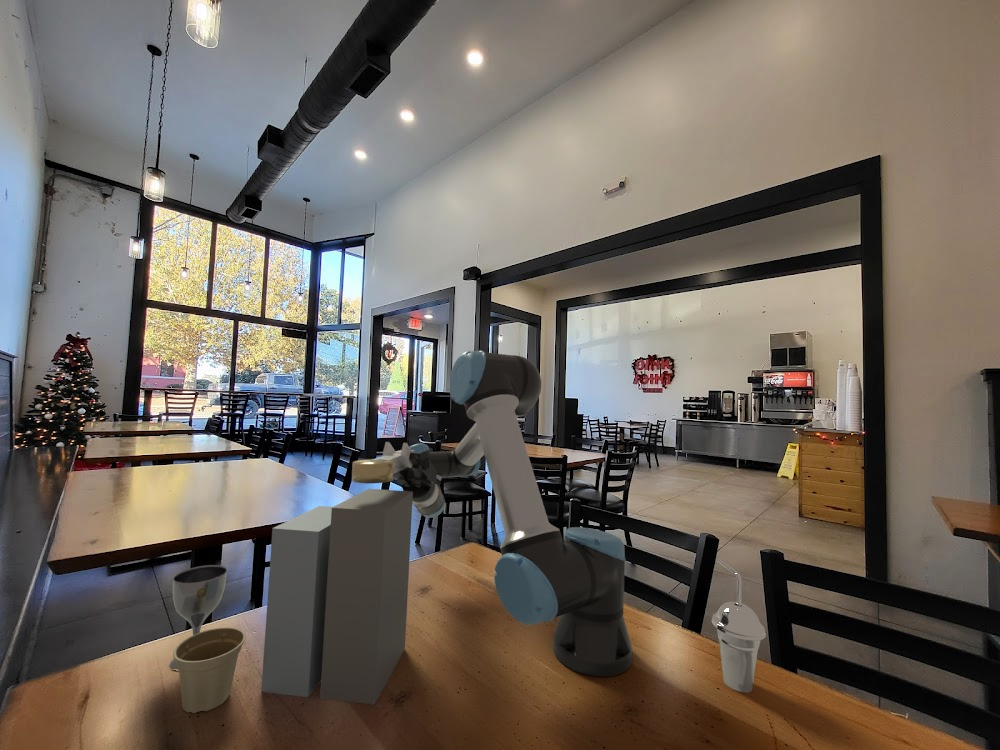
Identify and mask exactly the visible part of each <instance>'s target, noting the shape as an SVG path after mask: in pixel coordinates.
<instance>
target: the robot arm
mask: <svg viewBox="0 0 1000 750" xmlns="http://www.w3.org/2000/svg"><path fill="white" fill-rule="evenodd" d="M541 378H542V377H541V374H540V372H539V370H538V367H536V365H535V364H534V363H533V362H532V361H531V360H530V359H528V358H526V357H524V356H521V355H514V354H513V355H511V354H505V353H504V354H503V353H494V352H493V353H492V352H486V351H484V350H468V351H464V352H462V353H461V354H460V355H459V356H458V357H457V359H456V360H455V361H454V364H453V366H452V368H451V371H450V376H449V394H450V398H451V400H452V401H454V402H455V403H456V404H458V405H463V406H464V407H465V408H464V409H465V412H466V413H465V414H466V416H467V418H468V419H469V420H470V419H471V420H472V421H473V422H475V423H474V424H473V425H472V427H471V428H470V429H469V430H468V432H467V433H466V434H465V435H464V437H463V438H462V439H461V441H460V442H459V443H458V444H457V445H456V446H455V448H454V449H453V450H451V451H450V450H448V451H431V449H430V447H429V446H428V445H427V444H425V443H416V444H412V445H410V446H409V445H408V442H403V443H402V447H401V450H402V451H401V457H402V458H403V460H404V461H405V463H406V464H407V466H408V467H407V468H405V469H403V470H401V471H399V472H396V473H394V474H393V480H392V481H389V483H390V482H393V481H394V480H395V481H396V482H397V483H398V484H401V489H402V491H411V492H413V499H412V505H414V507H415V508H416V510H417V512H418V513H419V514H420V515H422V516H423V517H425V518H431V519H433V518H436V517H438V516H439V515H440V514H442V513H443V511H444V509H445V506H446V499H445V496H444V493H442V489H441V486H440V485H441V484H442V482H441V481H442V479H447V478H458V477H460V478H461V477H470V476H474V475H476V474H477V473H478V472H479V471H480V467H481V458H482V457H485V461H486V466H487V469H488V473H489V478H490V481H491V484H492V489H493V493H494V497H495V501H496V505H497V509H498V512H499V516H500V520H501V524H502V528H503V532H504V539H503V540H502V542H501V545H500V546H499V547H500V548H499V549H500V553H501V557H499V559H498V560H497V561H496V564H495V567H494V571H495V573H494V575H493V577H494V584H495V591H496V592H497V596H498V597H499V598H498V599H499V600H500V602H501V604H502V605H503V607H504V609H505V610H506V611H507V613H508V614H509V615H510V616H512V618H513V619H514V620H515V621H517V622H519V623H520V624H522V625H527V626H533V625H537V624H540V623H546V622H552V621H553V620H554V619H555V618H558V621H557V623H556V625H555V629H554V630H553V631H554V632H553V634H552V635H553V636H552V637H553V638H552V650H553V653H554V656H555V657H556V659H558V661H559V662H561V663H562V664H563V665H564V666H565V667H568V668H569V669H571V670H573V671H575V672H577V673H580V674H583V675H587V676H591V677H592V676H593V677H598V678H599V677H603V678H604V677H606V678H607V677H613V676H619V675H621V674H623V673H625V672H626V671H627V670H629V669H630V667H631V665H632V663H633V647H632V645H633V644H632V642H631V639H630V634H629V632H628V628H627V624H626V621H625V618H624V606H625V605H624V601H625V600H624V599H625V597H624V596H625V595H624V594H625V568H626V567H625V566H626V565H625V564H626V563H625V562H626V561H627V560H626V559H627V558H626V557H625V554H626V553H625V544H624V543H623V541H622V539H621V538H620V537H619V536H616V535H615V534H612V533H610V532H606V531H603V530H599V529H594V528H590V527H589V528H588V527H582V526H581V527H580V526H578V527H577V526H574V527H568V528H567V529H566V530H565V533H564V535H563V536H562V533H561V531H560V528H558V527H556V526H554V525H553V524H551V523H550V522H549V519H548V515H547V513H546V509H545V505H544V501H543V499H542V496H541V492H540V490H539V485H538V482H537V480H536V477H535V473H534V470H533V467H532V463H531V460H530V457H529V453H528V450H527V446H526V443H525V440H524V436H523V434H522V431H521V426H520V424H519V421H518V418H519V417H523V416H526V415H527V414H528V413H529V412H530V411H531V409H532V408H533V407H534V406H535V405H536V404H537V401H538V400H539V397H540V395H541V391H542V379H541ZM411 450H415V452H414V453H413V452H412V451H411ZM396 451H397V450H395V449H394V447H393V446H392V444H391V442H390V441H385V444H384V447H383V452H382V456H385V455H388V454H391V453H394V452H396ZM563 537H564V539H563Z"/></svg>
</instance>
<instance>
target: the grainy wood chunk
mask: <svg viewBox="0 0 1000 750" xmlns="http://www.w3.org/2000/svg"><path fill="white" fill-rule="evenodd" d="M395 451H396V452H394V453H391V454H388V455H385V456H383V455H382V456H379V457H376V458H374V459H373V458H372V459H361V460H354V461H352V470H351V481H352V482H354V483H357V484H382V483H388V482H389V481H390V482H393V481H394V480H393V474H394V473H396V472H399V471H401V470H403V469H405V468H407V467H408V466H407V464H406V463H405V461H404V460H403V458H402V457H401V451H402V449H400V450H399V449H398V450H395ZM411 451H412V452H413V453H414V452H415V450H411ZM392 480H393V481H392ZM390 482H389V483H390Z"/></svg>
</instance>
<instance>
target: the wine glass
mask: <svg viewBox="0 0 1000 750" xmlns="http://www.w3.org/2000/svg"><path fill="white" fill-rule="evenodd" d="M227 570H228V569H227V567H225V566H223V565H220V564H219V565H217V564H207V565H199V566H195V567H191V568H187V569H184V570H182V571H180V572H179V573H176V574H175V575H174V577H173V580H172V599H173V601H172V602H173V604H174V608H175V611H176V613H177V614H178V615H180V617H182V618H183V619H184V620H186V621H187V622H188V623H189V625H190V626H191V629H192V636H193V635H195V634H198V633H200V632H201V630H202V625H203V624H204V622H205V621H206V620H207V618H208V617H209V616H210V614H211V613H212V612H213V611H214V610H215V609H216V608H217V607H218V606H219V604H220V602H221V600H222V598H223V595H224V591H225V588H226V581H227V572H228V571H227ZM169 666H170V667H169ZM168 667H169V669H170V668H171V669H178V670H179V668H178V666H177V662H176V660H175V659H174V658H173V659H172V660H170V662H169V665H168ZM171 669H170V670H171Z"/></svg>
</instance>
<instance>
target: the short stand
mask: <svg viewBox="0 0 1000 750" xmlns="http://www.w3.org/2000/svg"><path fill="white" fill-rule="evenodd" d="M332 507H333V506H326V505H318V506H317V507H314V508H313V509H311V510H307V511H306V512H304V513H302V514H300V515H298V516H296V517H293V518H291V519H289V520H287V521H285V522H283V523H281V524H278V525H277V526H274V527H272V528H271V529H272V531H271V545H270V546H271V547H270V558H269V559H270V560H269V572H268V573H269V574H268V589H267V602H266V603H267V604H266V616H265V617H266V618H265V619H266V621H265V631H264V646H263V660H262V662H263V663H262V672H261V674H262V676H261V677H262V678H261V688H260V689H261V693H268V694H277V695H286V696H288V695H289V696H295V697H304V698H308V697H310V696H311V694H312V693H313V692H314V690H315V689H317V687H318V686H319V684H321V674H322V658H323V642H324V625H325V609H326V593H327V577H328V561H329V544H330V528H331V512H332ZM312 691H313V692H312Z"/></svg>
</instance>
